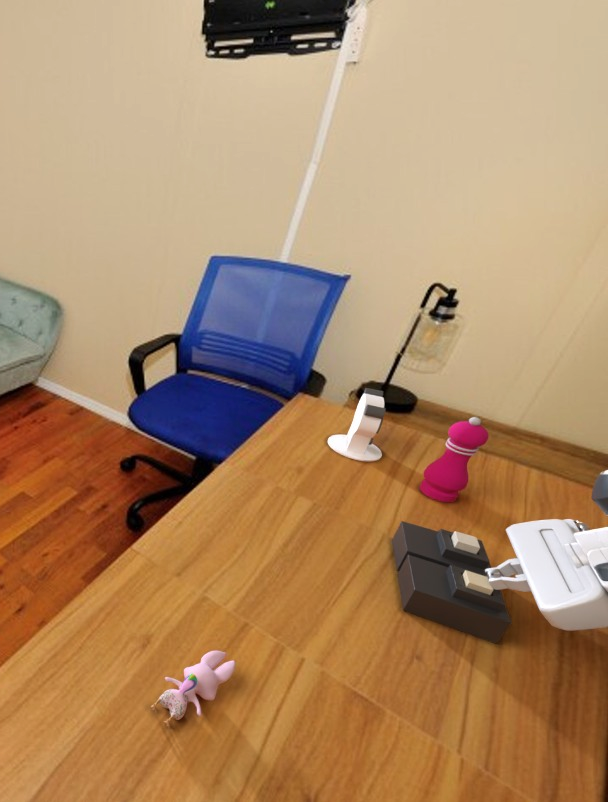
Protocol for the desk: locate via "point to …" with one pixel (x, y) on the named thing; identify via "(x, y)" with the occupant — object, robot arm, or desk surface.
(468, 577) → the high key
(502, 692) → the desk surface
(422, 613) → the high key box
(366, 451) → the white curved stand
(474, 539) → the low key
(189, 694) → the rabbit figure
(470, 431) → the pepper mill
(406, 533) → the low key box
